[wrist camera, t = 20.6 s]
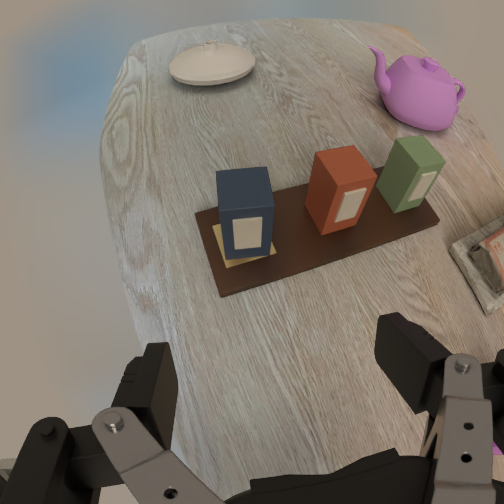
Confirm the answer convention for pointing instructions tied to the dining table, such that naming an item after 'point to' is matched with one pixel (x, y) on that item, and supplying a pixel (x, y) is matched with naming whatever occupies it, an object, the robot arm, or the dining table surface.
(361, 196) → the orange block
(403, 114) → the teapot
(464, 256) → the packaged product
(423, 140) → the green block
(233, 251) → the navy box with label
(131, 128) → the dining table surface
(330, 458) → the dining table surface
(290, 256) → the brown board
